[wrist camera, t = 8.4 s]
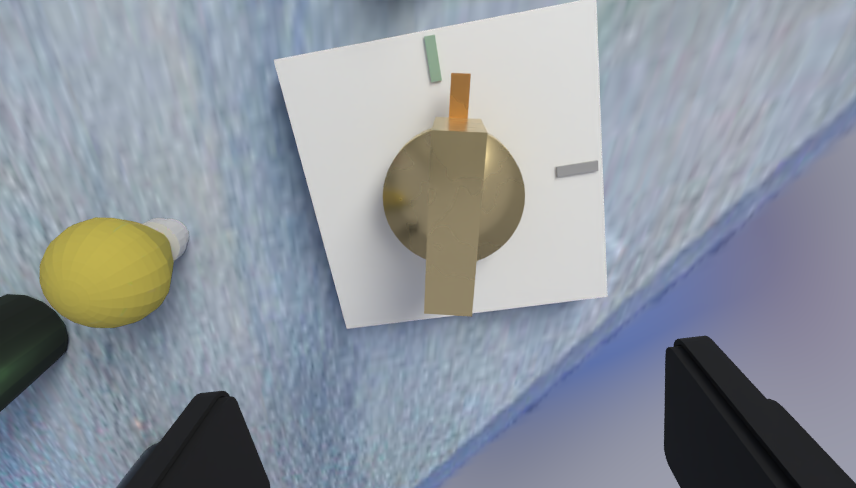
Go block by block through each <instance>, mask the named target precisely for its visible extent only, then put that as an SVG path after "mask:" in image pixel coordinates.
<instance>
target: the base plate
mask: <svg viewBox="0 0 856 488" xmlns="http://www.w3.org/2000/svg"><path fill="white" fill-rule="evenodd" d="M274 63H275V67H276V70H277V74H278V78H279V81H280V85H281V89H282V92H283V96H284V100H285V103H286V107H287V111H288V114H289V118H290V122H291V125H292V129H293V133H294V136H295V140H296V144H297V148H298V151H299V155H300V159H301V162H302V166H303V170H304V173H305V177H306V181H307V184H308V188H309V192H310V195H311V199H312V203H313V206H314V210H315V214H316V217H317V221H318V225H319V228H320V232H321V236H322V239H323V243H324V247H325V250H326V254H327V258H328V261H329V265H330V269H331V272H332V276H333V280H334V283H335V287H336V291H337V294H338V298H339V302H340V305H341V309H342V313H343V316H344V320H345V324H346V327H347V329H350V328H358V327H366V326H374V325H383V324H391V323H399V322H407V321H415V320H423V319H431V318H439V317H447V316H455V315H438V314H424V299H425V274H426V259H423V258H422V257H420V256H418V255H416V254H414V253H413V252H411V251H410V250H409V249H407V248H406V247H405V246H404V245H403V244H402V243H401V242H400V241H399V240H398V238H397V237H396V236H395V234H394V233H393V231H392V230H391V228H390V226H389V224H388V221H387V218H386V216H385V212H384V207H383V186H384V181H385V177H386V175H387V172H388V169H389V167H390V165H391V164H392V162H393V160H394V158H395V157H396V155H397V154H398V152H399V151H400V149H401V148H402V147H403V146H404V145H405V144H406V143H407V142H408V141H409V140H411V139H412V138H413V137H414V136H416V135H418V134H419V133H421V132H423V131H425V130H427V129H429V128H432V126H433V123H434V120H435V117H449V105H450V86H451V73H470V74H471V79H470V93H469V108H468V118H473V119H481V120H482V122H483V124H484V126H485V128H486V130H487V132H488V133H489V134H491V135H493V136H494V137H495V138H497V139H498V140H499V141H500V142H501V143H502V144H503V145H504V146H505V147H506V148H507V149H508V151H509V152H510V153H511V155H512V156H513V158H514V160H515V161H516V163H517V165H518V167H519V169H520V172H521V174H522V177H523V182H524V187H525V205H524V210H523V214H522V217H521V220H520V223H519V225H518V227H517V229H516V230H515V232H514V233H513V235H512V236H511V238H510V239H509V240H508V241H507V242H506V243H505V244H504V245H503V246H502V247H501V248H500V249H499V250H497V251H496V252H494V253H493V254H491V255H489V256H487V257H486V258H484V259H481V260H478V261H477V263H476V275H475V287H474V299H473V311H472V313H479V312H487V311H495V310H504V309H512V308H520V307H528V306H536V305H544V304H552V303H560V302H568V301H576V300H584V299H592V298H600V297H607V274H606V247H605V220H604V193H603V167H602V140H601V113H600V86H599V59H598V33H597V6H596V0H580V1H575V2H570V3H565V4H560V5H555V6H549V7H544V8H539V9H534V10H529V11H524V12H518V13H513V14H508V15H503V16H498V17H493V18H488V19H482V20H477V21H472V22H467V23H462V24H457V25H451V26H446V27H441V28H436V29H431V30H426V31H420V32H415V33H410V34H405V35H400V36H395V37H390V38H384V39H379V40H374V41H369V42H364V43H359V44H353V45H348V46H343V47H338V48H333V49H328V50H322V51H317V52H312V53H307V54H302V55H297V56H291V57H286V58H281V59H276V60H274Z"/></svg>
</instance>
